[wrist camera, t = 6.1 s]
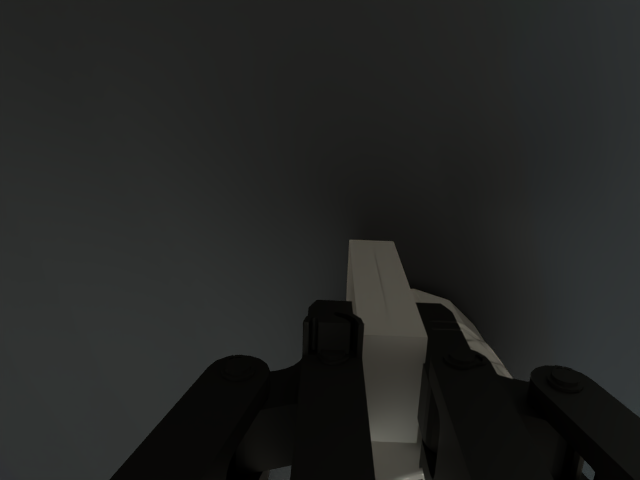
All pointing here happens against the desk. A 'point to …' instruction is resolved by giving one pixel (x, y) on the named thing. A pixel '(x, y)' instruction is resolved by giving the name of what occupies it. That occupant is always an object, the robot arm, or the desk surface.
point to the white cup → (403, 458)
